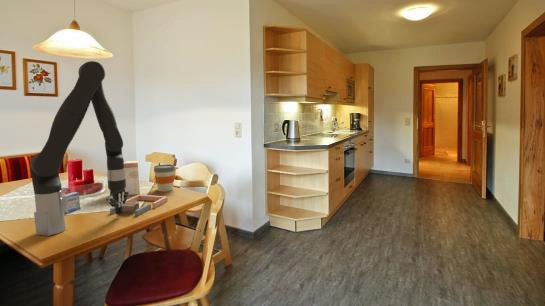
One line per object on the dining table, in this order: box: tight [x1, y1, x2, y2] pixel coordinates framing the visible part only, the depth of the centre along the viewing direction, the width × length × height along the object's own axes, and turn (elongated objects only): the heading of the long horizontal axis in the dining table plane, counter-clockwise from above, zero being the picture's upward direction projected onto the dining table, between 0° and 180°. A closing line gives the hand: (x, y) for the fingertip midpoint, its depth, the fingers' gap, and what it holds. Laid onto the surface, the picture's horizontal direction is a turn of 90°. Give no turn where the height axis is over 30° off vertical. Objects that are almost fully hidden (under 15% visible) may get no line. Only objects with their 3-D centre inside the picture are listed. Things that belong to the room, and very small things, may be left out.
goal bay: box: [126, 194, 169, 209], centre depth 169 cm, size 12×18×2 cm
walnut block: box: [122, 202, 140, 215], centre depth 156 cm, size 6×6×4 cm
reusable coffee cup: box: [153, 164, 176, 192], centre depth 196 cm, size 13×13×15 cm
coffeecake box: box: [124, 160, 141, 196], centre depth 185 cm, size 15×7×20 cm, turn 114°
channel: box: [109, 202, 152, 217], centre depth 156 cm, size 11×15×2 cm
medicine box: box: [62, 191, 81, 214], centre depth 156 cm, size 8×4×9 cm, turn 168°
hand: (119, 214), depth 147 cm, fingers closed
